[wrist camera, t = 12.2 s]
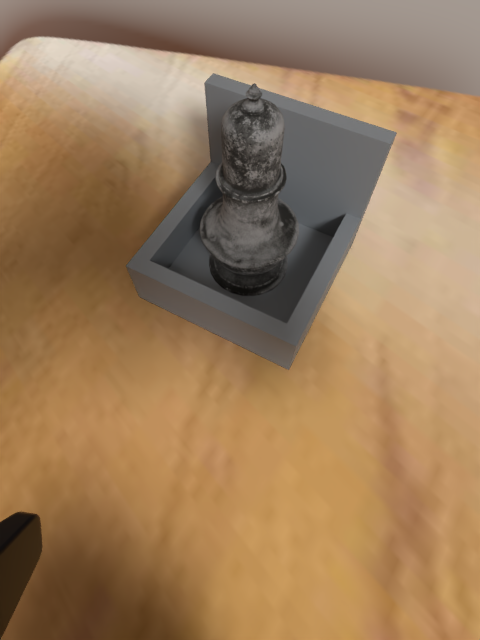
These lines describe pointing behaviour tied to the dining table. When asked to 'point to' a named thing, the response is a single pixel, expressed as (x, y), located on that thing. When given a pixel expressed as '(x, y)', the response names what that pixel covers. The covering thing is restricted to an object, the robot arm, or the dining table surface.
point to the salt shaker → (250, 201)
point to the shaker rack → (306, 202)
